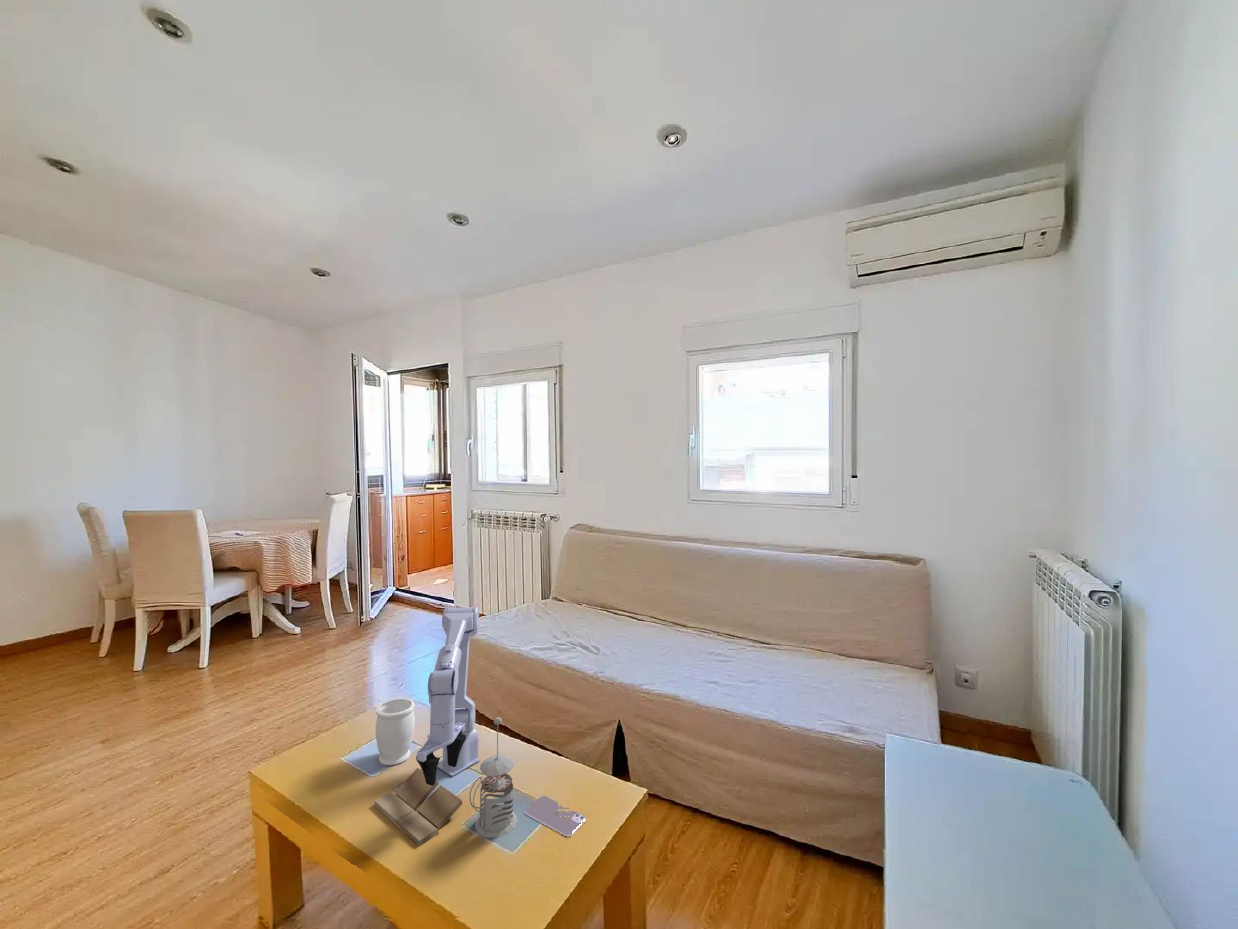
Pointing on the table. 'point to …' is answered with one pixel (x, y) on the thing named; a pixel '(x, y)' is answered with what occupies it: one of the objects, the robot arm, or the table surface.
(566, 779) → the table surface
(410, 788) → the plank
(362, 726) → the table surface
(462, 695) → the robot arm
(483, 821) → the french press
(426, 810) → the plank
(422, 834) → the laid board
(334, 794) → the table surface
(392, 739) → the jar
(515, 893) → the table surface
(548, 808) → the mobile phone
